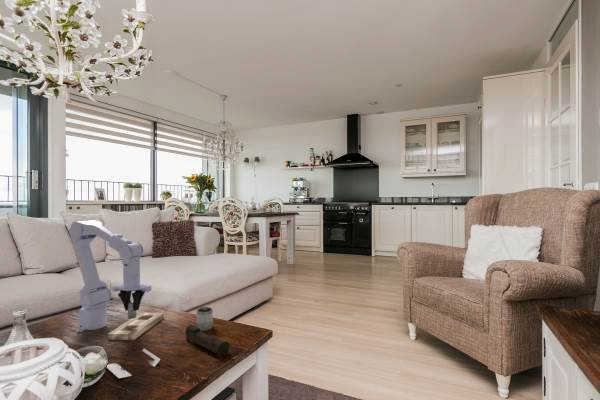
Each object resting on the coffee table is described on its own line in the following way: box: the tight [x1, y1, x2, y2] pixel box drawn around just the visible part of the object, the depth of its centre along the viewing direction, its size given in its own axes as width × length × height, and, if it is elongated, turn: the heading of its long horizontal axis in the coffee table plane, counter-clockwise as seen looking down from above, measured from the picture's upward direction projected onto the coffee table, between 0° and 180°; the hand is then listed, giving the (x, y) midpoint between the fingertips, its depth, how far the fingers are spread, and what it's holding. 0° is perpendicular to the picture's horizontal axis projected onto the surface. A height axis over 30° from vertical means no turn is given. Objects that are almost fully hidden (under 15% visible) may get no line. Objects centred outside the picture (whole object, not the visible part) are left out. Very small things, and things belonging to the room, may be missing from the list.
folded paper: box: [106, 348, 161, 379], centre depth 100 cm, size 12×12×2 cm
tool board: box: [107, 312, 165, 341], centre depth 128 cm, size 10×22×3 cm, turn 177°
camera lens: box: [195, 306, 214, 332], centre depth 130 cm, size 6×6×8 cm
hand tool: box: [185, 324, 230, 359], centre depth 113 cm, size 23×5×6 cm, turn 48°
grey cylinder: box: [127, 300, 137, 320], centre depth 124 cm, size 3×3×6 cm
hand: (132, 309), depth 124 cm, fingers closed on grey cylinder, 3 cm apart
